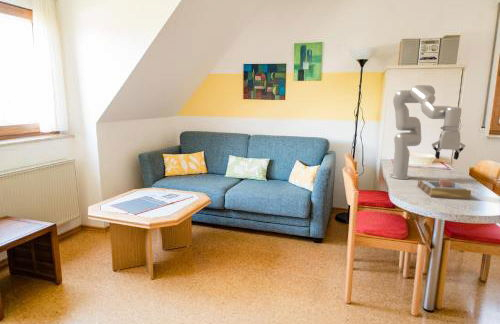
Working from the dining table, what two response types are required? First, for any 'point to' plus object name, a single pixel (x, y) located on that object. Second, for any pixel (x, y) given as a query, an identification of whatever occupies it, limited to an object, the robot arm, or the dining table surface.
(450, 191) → the bay
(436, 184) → the grey tray
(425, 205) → the dining table surface
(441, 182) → the block
